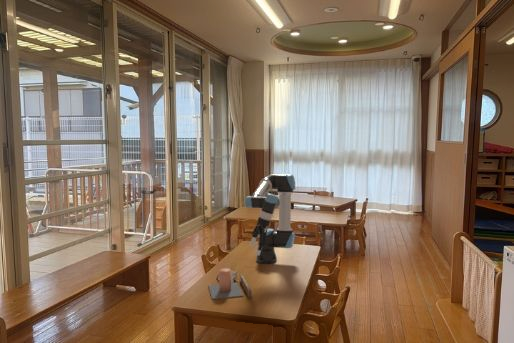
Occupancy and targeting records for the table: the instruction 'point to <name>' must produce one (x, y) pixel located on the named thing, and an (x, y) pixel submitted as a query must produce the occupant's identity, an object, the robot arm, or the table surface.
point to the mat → (220, 295)
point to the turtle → (233, 275)
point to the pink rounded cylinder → (225, 280)
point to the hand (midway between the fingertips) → (254, 250)
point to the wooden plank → (246, 286)
